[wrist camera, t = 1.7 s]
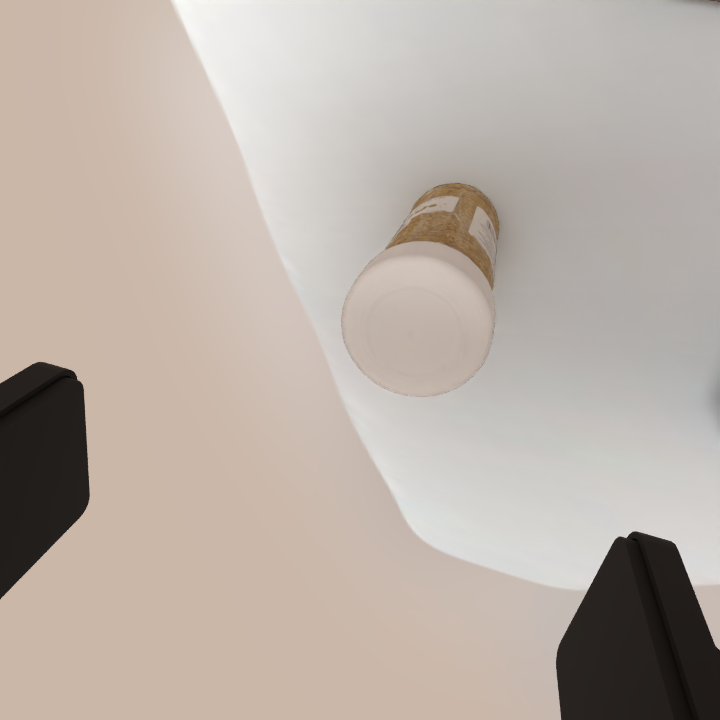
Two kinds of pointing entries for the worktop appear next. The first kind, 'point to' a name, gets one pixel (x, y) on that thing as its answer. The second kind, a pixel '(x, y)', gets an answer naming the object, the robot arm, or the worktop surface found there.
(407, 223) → the sprinkles bottle
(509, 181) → the worktop surface
